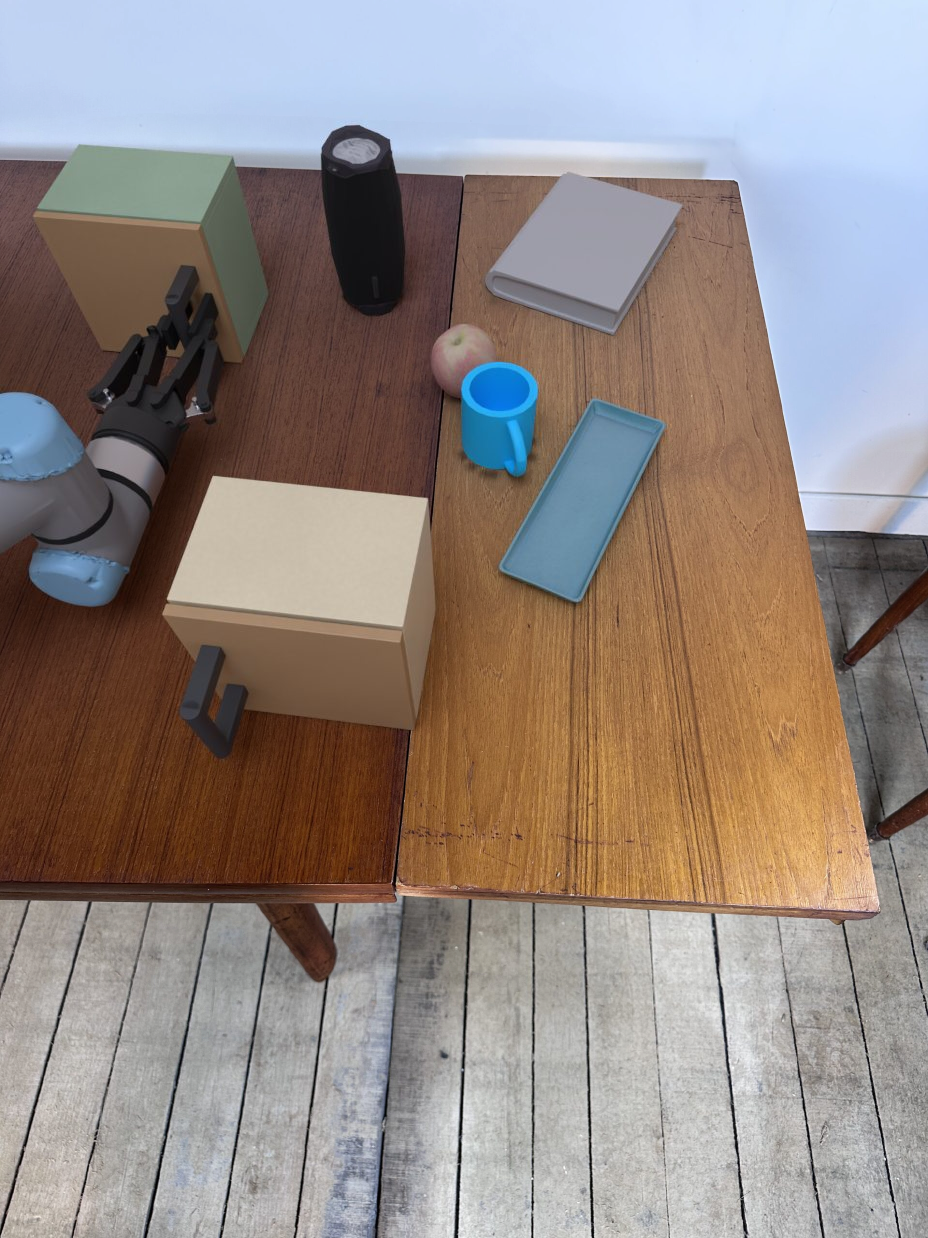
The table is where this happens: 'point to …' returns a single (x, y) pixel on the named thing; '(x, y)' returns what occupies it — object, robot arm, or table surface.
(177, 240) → the tan wooden panel
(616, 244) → the book
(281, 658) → the beige drawer front
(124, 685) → the table surface
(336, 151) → the portable speaker
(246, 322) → the green cupboard
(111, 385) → the robot arm
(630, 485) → the rectangular tray
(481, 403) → the mug
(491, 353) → the apple
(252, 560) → the cream cupboard
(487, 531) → the table surface
